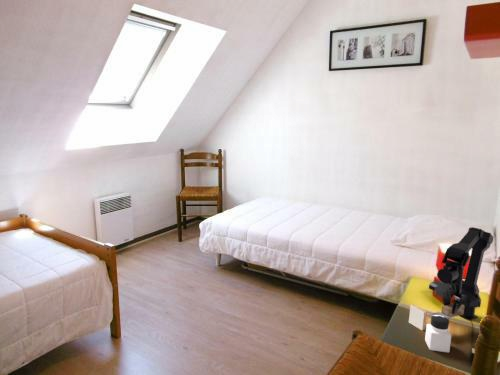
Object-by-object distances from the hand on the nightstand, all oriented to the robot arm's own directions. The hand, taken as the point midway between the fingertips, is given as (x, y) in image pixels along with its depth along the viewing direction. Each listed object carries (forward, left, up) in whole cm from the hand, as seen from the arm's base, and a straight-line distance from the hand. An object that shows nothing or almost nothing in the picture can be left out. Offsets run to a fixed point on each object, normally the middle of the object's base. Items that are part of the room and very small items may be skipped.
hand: (450, 312), depth 153 cm
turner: (+1, 0, -1) cm, 2 cm away
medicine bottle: (+15, +7, -8) cm, 19 cm away
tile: (+10, -7, -8) cm, 15 cm away
